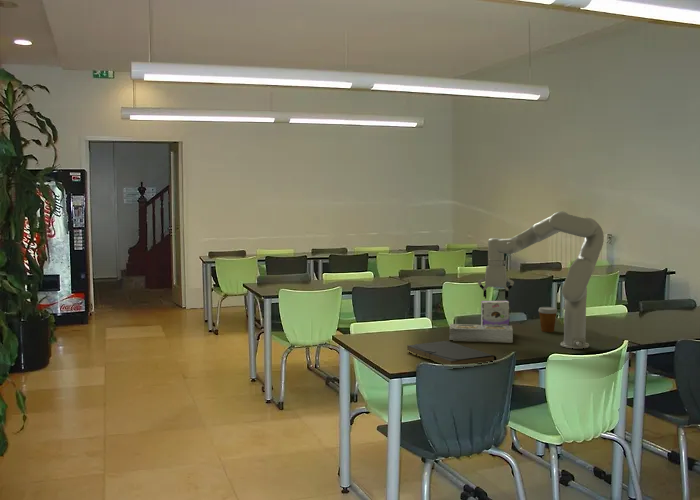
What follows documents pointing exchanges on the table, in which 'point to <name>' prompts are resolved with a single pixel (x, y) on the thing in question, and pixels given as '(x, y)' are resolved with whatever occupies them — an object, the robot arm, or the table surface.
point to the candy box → (494, 313)
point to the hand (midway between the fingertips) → (495, 298)
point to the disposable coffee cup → (547, 318)
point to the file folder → (450, 353)
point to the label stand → (481, 333)
